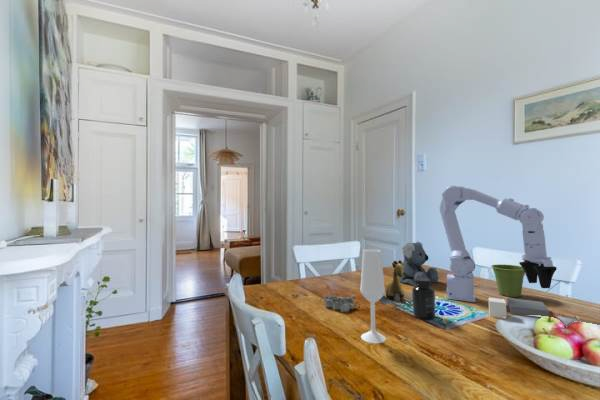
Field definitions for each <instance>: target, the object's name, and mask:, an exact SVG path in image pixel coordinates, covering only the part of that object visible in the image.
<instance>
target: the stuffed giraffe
mask: <svg viewBox="0 0 600 400" xmlns="http://www.w3.org/2000/svg"><path fill="white" fill-rule="evenodd" d="M403 264H404V263H403V262H402V260H401V259H399V260H398V261H397V260H394V261H393V262H392V263H391V265H392V268H393V273H392V274H393V275H392V276H393V277H392V281H391V282H390V283H388V284H387V287H386V289H385V291H386V292H385V294H384V295H383V296H382V298H381V299H379V300H378V301H380V302H381V303H382V306H386V307H387V306H388V305H389V304H392V305H393V306H395V307H396V306H401V305H400V304H401V303H402V302H403V303H404V302H406V301H407V302H408V300H409V301H410V300H412V299H413V297H412V293H409V292H406V291H404V289H403V288H402V284H401V283H402V282H400V280H399V277H402V276H403V266H402V265H403ZM404 297H405V298H406V299H403V298H404ZM400 302H401V303H400ZM399 303H400V304H399Z"/></svg>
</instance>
